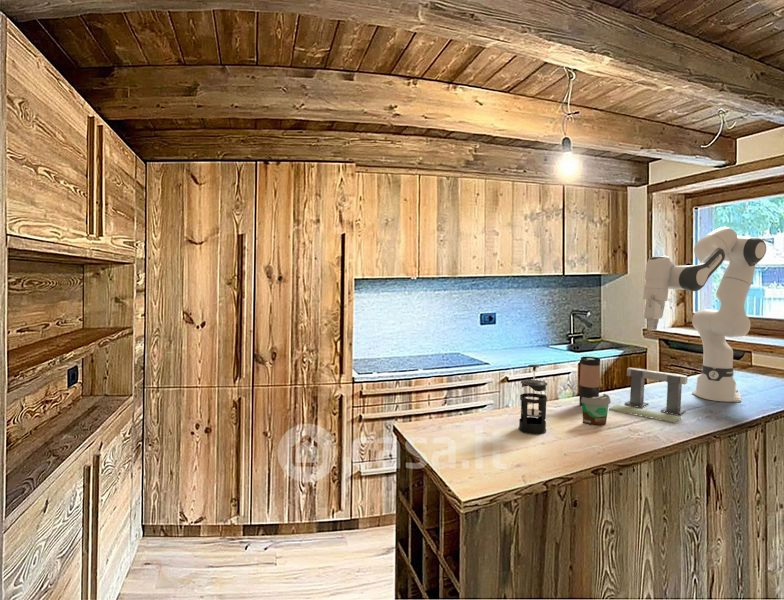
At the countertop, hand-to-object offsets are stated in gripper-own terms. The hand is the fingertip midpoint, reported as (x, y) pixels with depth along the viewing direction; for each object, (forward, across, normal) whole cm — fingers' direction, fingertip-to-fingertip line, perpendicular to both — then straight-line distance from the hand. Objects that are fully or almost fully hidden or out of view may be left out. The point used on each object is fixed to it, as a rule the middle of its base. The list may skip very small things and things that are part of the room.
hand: (652, 330), depth 208 cm
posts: (+32, +4, -3) cm, 32 cm away
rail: (+20, +3, -3) cm, 20 cm away
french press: (+37, -54, +26) cm, 70 cm away
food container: (+35, -32, +10) cm, 48 cm away
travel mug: (+34, -10, +19) cm, 40 cm away
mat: (+33, -8, -1) cm, 34 cm away
